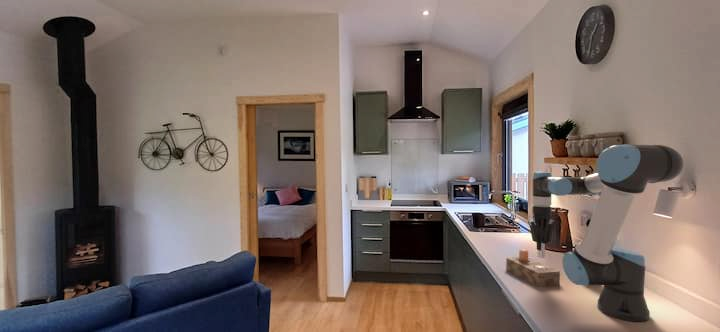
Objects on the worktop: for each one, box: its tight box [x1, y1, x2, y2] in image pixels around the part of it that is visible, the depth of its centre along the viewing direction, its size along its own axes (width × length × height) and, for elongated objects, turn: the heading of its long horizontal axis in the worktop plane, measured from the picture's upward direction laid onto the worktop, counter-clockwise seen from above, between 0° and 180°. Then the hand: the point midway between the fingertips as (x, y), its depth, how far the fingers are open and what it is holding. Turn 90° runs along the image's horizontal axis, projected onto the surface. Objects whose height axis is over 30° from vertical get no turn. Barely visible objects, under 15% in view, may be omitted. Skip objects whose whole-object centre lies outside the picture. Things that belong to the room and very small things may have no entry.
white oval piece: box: [535, 266, 545, 270], centre depth 153 cm, size 4×4×6 cm
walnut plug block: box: [505, 256, 561, 287], centre depth 159 cm, size 22×11×6 cm, turn 13°
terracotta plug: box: [518, 248, 529, 262], centre depth 164 cm, size 4×4×6 cm
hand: (541, 257), depth 153 cm, fingers closed
